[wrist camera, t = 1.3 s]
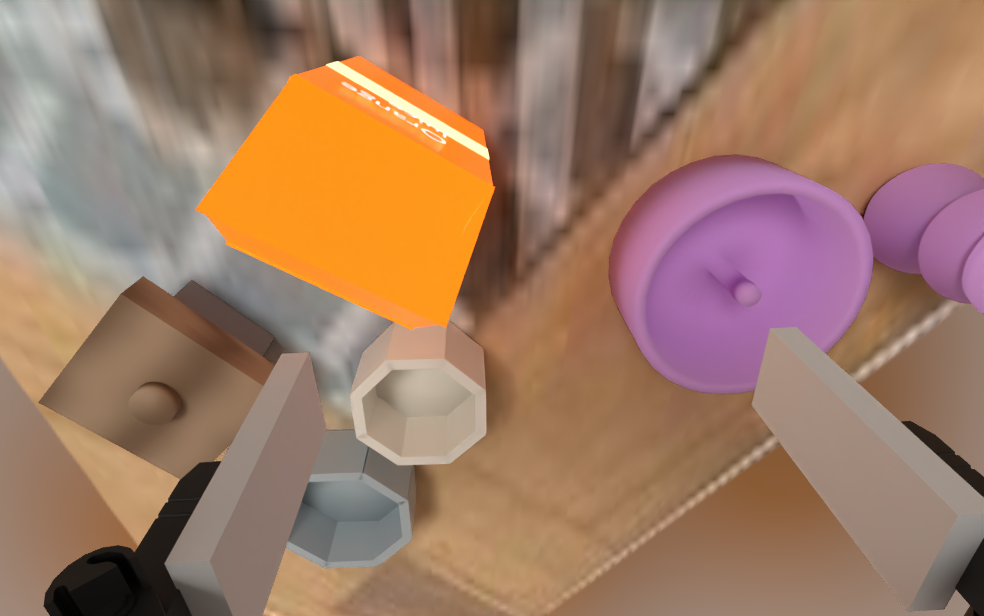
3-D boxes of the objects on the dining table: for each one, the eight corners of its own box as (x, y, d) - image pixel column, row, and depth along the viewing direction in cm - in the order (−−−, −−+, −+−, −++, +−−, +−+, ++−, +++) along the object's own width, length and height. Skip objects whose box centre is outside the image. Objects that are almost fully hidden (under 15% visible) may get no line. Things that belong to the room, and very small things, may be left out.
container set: (625, 365, 44) (683, 488, 32) (591, 190, 37) (649, 266, 25) (939, 286, 42) (1122, 386, 30) (966, 83, 35) (1218, 112, 23)
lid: (63, 380, 37) (27, 412, 34) (143, 276, 34) (111, 301, 31) (205, 460, 41) (184, 495, 38) (288, 374, 38) (273, 404, 35)
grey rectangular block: (129, 356, 41) (98, 387, 38) (191, 280, 39) (164, 305, 35) (210, 405, 44) (188, 439, 40) (274, 337, 41) (256, 366, 38)
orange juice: (430, 228, 38) (399, 407, 20) (310, 165, 35) (156, 306, 18) (485, 127, 35) (507, 234, 17) (359, 51, 32) (231, 84, 15)
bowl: (340, 373, 43) (325, 417, 38) (419, 296, 40) (413, 334, 35) (429, 435, 46) (425, 483, 42) (508, 368, 44) (513, 412, 39)
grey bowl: (266, 480, 48) (246, 526, 44) (342, 408, 45) (328, 450, 40) (363, 536, 52) (354, 584, 48) (440, 474, 49) (438, 519, 44)
